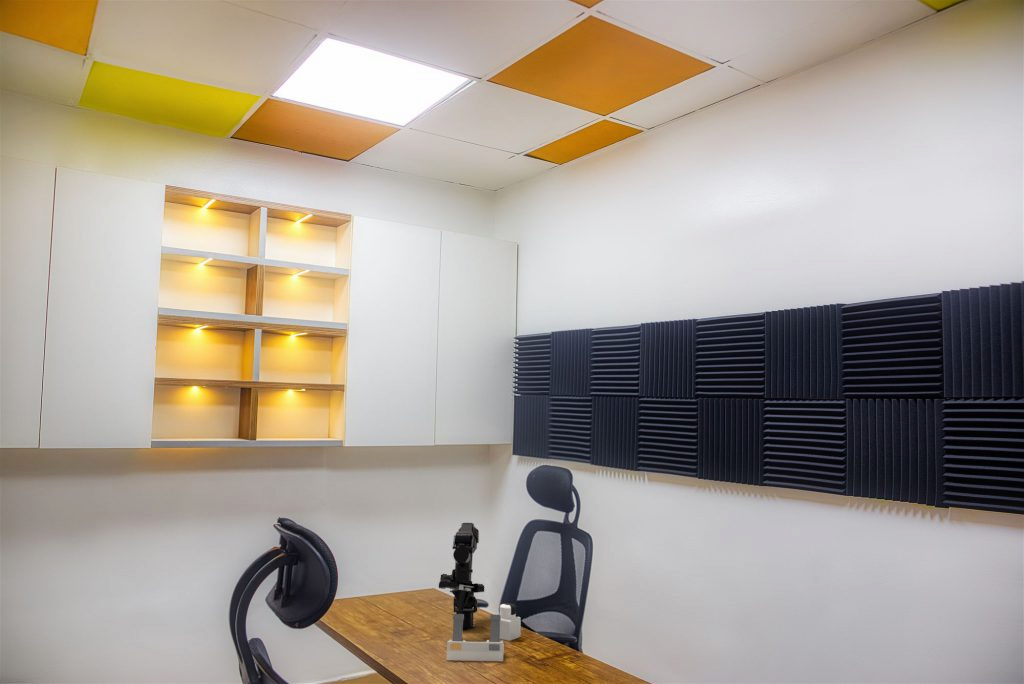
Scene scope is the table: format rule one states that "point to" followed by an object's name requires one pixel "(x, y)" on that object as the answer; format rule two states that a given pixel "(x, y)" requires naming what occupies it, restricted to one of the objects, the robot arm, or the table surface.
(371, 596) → the table surface
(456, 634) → the lever
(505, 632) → the medicine bottle
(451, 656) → the switch box
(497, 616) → the lever
